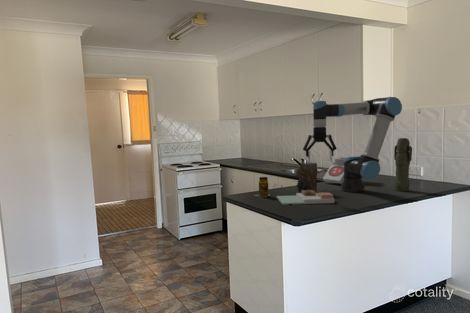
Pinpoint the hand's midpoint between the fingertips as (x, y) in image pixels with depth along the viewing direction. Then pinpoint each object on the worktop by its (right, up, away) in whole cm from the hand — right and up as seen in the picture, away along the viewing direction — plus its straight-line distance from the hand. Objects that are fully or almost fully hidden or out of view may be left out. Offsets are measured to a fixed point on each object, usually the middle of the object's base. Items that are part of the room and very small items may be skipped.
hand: (319, 161), depth 214 cm
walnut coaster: (-7, -20, +1) cm, 21 cm away
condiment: (-34, -22, +12) cm, 42 cm away
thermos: (+61, -20, +22) cm, 67 cm away
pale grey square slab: (-4, -23, -3) cm, 23 cm away
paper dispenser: (+31, -17, +56) cm, 66 cm away
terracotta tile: (+2, -21, -7) cm, 22 cm away
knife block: (-3, -21, +16) cm, 27 cm away
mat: (-19, -23, -4) cm, 30 cm away
